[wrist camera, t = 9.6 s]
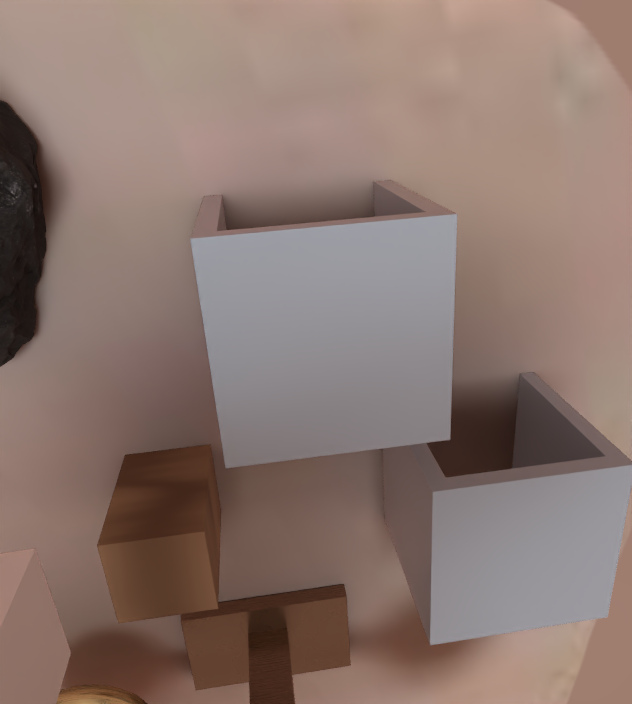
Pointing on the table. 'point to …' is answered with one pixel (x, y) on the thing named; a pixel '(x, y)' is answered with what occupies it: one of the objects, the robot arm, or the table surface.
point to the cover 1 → (329, 329)
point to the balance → (254, 646)
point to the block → (163, 535)
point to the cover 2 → (512, 526)
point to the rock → (18, 233)
